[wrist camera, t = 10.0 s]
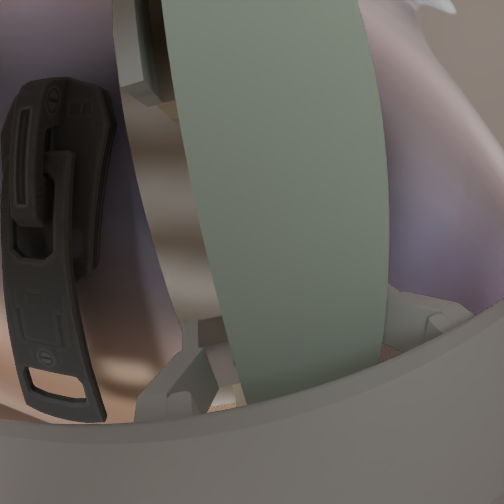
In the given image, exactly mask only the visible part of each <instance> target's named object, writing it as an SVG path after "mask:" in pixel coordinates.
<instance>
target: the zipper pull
mask: <svg viewBox="0 0 504 504" xmlns="http://www.w3.org/2000/svg"><path fill="white" fill-rule="evenodd" d="M116 127H117V125H116V121H115V118H114V114H113V110H112V107H111V103H110V99H109V95H108V92H107V91H106V90H104V89H102V88H100V87H99V86H97V85H93V84H90V83H87V82H83V81H80V80H77V79H73V78H70V77H55V78H47V79H41V80H35V81H30V82H28V83H26V84H25V85H23V86H22V88H21V90H20V91H19V93H18V95H17V96H16V97H15V98H14V101H13V103H12V105H11V108H10V110H9V113H8V115H7V118H6V120H5V123H4V126H3V128H2V131H1V153H2V171H3V181H2V197H1V247H2V270H3V286H4V297H5V307H6V315H7V322H8V329H9V335H10V340H11V346H12V351H13V356H14V360H15V365H16V370H17V374H18V378H19V382H20V385H21V389H22V392H23V396H24V399H25V402H26V404H27V405H28V406H30V407H32V408H34V409H36V410H38V411H40V412H43V413H45V414H48V415H51V416H54V417H58V418H62V419H66V420H70V421H77V422H85V423H95V422H105V421H106V418H107V413H106V410H105V407H104V404H103V401H102V398H101V394H100V391H99V388H98V384H97V381H96V378H95V375H94V372H93V368H92V364H91V360H90V356H89V352H88V348H87V344H86V339H85V335H84V330H83V325H82V320H81V315H80V309H79V303H78V297H77V291H76V284H75V283H76V282H78V281H80V280H82V279H84V278H86V277H88V276H89V275H90V274H91V273H92V271H93V270H94V269H95V267H96V266H97V265H98V261H99V247H100V233H101V221H102V211H103V202H104V193H105V186H106V179H107V172H108V166H109V160H110V155H111V150H112V145H113V141H114V136H115V132H116ZM29 367H31V368H36V369H40V370H45V371H49V372H54V373H59V374H64V375H69V376H74V377H77V378H78V379H79V381H80V382H81V383H82V384H83V387H84V391H85V395H86V398H71V397H66V396H61V395H57V394H52V393H48V392H46V391H44V390H42V389H39V388H37V387H35V386H34V384H33V382H32V379H31V375H30V372H29Z"/></svg>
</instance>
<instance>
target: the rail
mask: <svg viewBox="0 0 504 504" xmlns="http://www.w3.org/2000/svg"><path fill="white" fill-rule="evenodd" d="M161 1H162V10H163V18H164V26H165V34H166V41H167V48H168V55H169V62H170V68H171V75H172V81H173V87H174V94H175V100H176V105H177V111H178V117H179V123H180V128H181V134H182V139H183V144H184V150H185V155H186V160H187V165H188V170H189V175H190V180H191V185H192V190H193V194H194V199H195V204H196V209H197V213H198V218H199V222H200V227H201V231H202V236H203V240H204V244H205V249H206V253H207V257H208V261H209V266H210V270H211V274H212V278H213V282H214V286H215V290H216V294H217V298H218V302H219V306H220V310H221V314H222V318H223V322H224V325H225V329H226V333H227V337H228V340H229V344H230V348H231V351H232V355H233V359H234V362H235V366H236V369H237V373H238V376H239V380H240V383H241V387H242V390H243V393H244V397H245V400H246V404H247V405H250V404H254V403H258V402H262V401H266V400H270V399H274V398H278V397H282V396H285V395H289V394H293V393H296V392H299V391H303V390H306V389H309V388H313V387H316V386H319V385H322V384H325V383H328V382H331V381H334V380H337V379H340V378H343V377H345V376H348V375H351V374H353V373H356V372H359V371H361V370H364V369H367V368H369V367H372V366H374V365H376V364H379V362H380V355H381V348H382V341H383V332H384V323H385V313H386V302H387V289H388V271H389V188H388V171H387V157H386V146H385V136H384V128H383V120H382V112H381V105H380V99H379V92H378V86H377V81H376V75H375V70H374V65H373V60H372V56H371V51H370V47H369V42H368V38H367V34H366V30H365V26H364V23H363V19H362V15H361V12H360V8H359V5H358V2H357V0H161Z"/></svg>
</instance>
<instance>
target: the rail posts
mask: <svg viewBox="0 0 504 504" xmlns="http://www.w3.org/2000/svg"><path fill="white" fill-rule="evenodd" d="M112 15H113V36H114V47H115V56H116V65H117V73H118V80H119V87H120V94H121V101H122V107H123V113H124V119H125V124H126V130H127V135H128V140H129V145H130V150H131V155H132V160H133V164H134V169H135V173H136V178H137V182H138V186H139V190H140V195H141V199H142V203H143V207H144V210H145V214H146V218H147V222H148V226H149V229H150V233H151V236H152V240H153V243H154V247H155V250H156V254H157V257H158V260H159V264H160V267H161V270H162V273H163V277H164V280H165V283H166V286H167V289H168V292H169V295H170V298H171V301H172V304H173V307H174V310H175V313H176V316H177V318H178V321H179V324H180V327H181V330H182V332H183V323H184V322H188V321H192V320H198V319H203V318H208V317H213V316H218V315H222V314H221V310H220V306H219V302H218V298H217V294H216V290H215V286H214V282H213V278H212V274H211V270H210V266H209V261H208V257H207V253H206V249H205V244H204V240H203V236H202V231H201V227H200V222H199V218H198V213H197V209H196V204H195V199H194V194H193V190H192V185H191V180H190V175H189V170H188V165H187V160H186V155H185V150H184V144H183V139H182V134H181V128H180V123H179V117H178V111H177V105H176V100H175V94H174V87H173V81H172V75H171V68H170V62H169V55H168V48H167V41H166V34H165V26H164V18H163V10H162V1H161V0H112ZM233 402H236V406H237V407H241V406H245V405H247V404H246V400H245V397H244V393H243V390H242V387H241V383H238V384H234V385H230V386H226V387H221V388H219V390H218V392H217V394H216V396H215V398H214V400H213V402H212V407H213V406H218V405H223V404H228V403H233Z"/></svg>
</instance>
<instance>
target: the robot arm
mask: <svg viewBox="0 0 504 504" xmlns="http://www.w3.org/2000/svg"><path fill="white" fill-rule="evenodd" d="M382 343H384V344H386V345H389V346H391V347H393V348H395V349H397V350H400V351H402V352H404V353H402V354H400V355H398V356H396V357H393V358H391V359H389V360H386V361H384V362H381V363H379V364H376V365H374V366H372V367H369V368H367V369H364V370H361V371H359V372H356V373H353V374H351V375H348V376H345V377H343V378H340V379H337V380H334V381H331V382H328V383H325V384H322V385H319V386H316V387H313V388H309V389H306V390H303V391H299V392H296V393H293V394H289V395H285V396H282V397H278V398H274V399H270V400H266V401H262V402H258V403H254V404H250V405H245V406H241V407H236V408H231V409H226V410H221V411H216V412H210V413H207V411H208V409H209V407H210V406H211V404H212V402H213V400H214V398H215V396H216V394H217V392H218V390H219V388H221V387H226V386H230V385H234V384H238V383H240V380H239V376H238V373H237V369H236V366H235V362H234V359H233V355H232V351H231V348H230V344H229V340H228V337H227V333H226V329H225V325H224V322H223V318H222V315H218V316H213V317H208V318H203V319H198V320H192V321H188V322H184V323H183V333H182V351H181V352H178V353H177V354H176V355H175V356H174V357H173V358H172V359H171V360H170V361H169V363H168V364H167V365H166V366H165V367H164V368H163V369H162V370H161V371H160V372H159V373H158V375H157V376H156V377H155V378H154V379H153V380H152V381H151V382H150V383H149V384H148V385H147V387H146V388H145V389H144V390H143V391H142V392H141V393H140V394H139V395H138V396H137V402H136V409H135V416H134V422H131V423H114V424H49V423H32V422H22V421H12V420H4V419H0V504H504V298H503V299H501V300H500V301H498V302H497V303H495V304H494V305H492V306H491V307H489V308H487V309H486V310H484V311H482V312H481V313H479V314H478V315H476V316H475V315H474V314H472V313H471V312H470V311H468V310H467V309H466V308H464V307H463V306H462V305H460V304H459V303H457V302H453V301H448V300H443V299H438V298H434V297H429V296H424V295H420V294H415V293H410V292H405V291H402V292H399V291H398V290H397V289H395V288H394V287H393V286H392V285H390V284H389V283H388V289H387V302H386V313H385V323H384V332H383V341H382Z"/></svg>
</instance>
